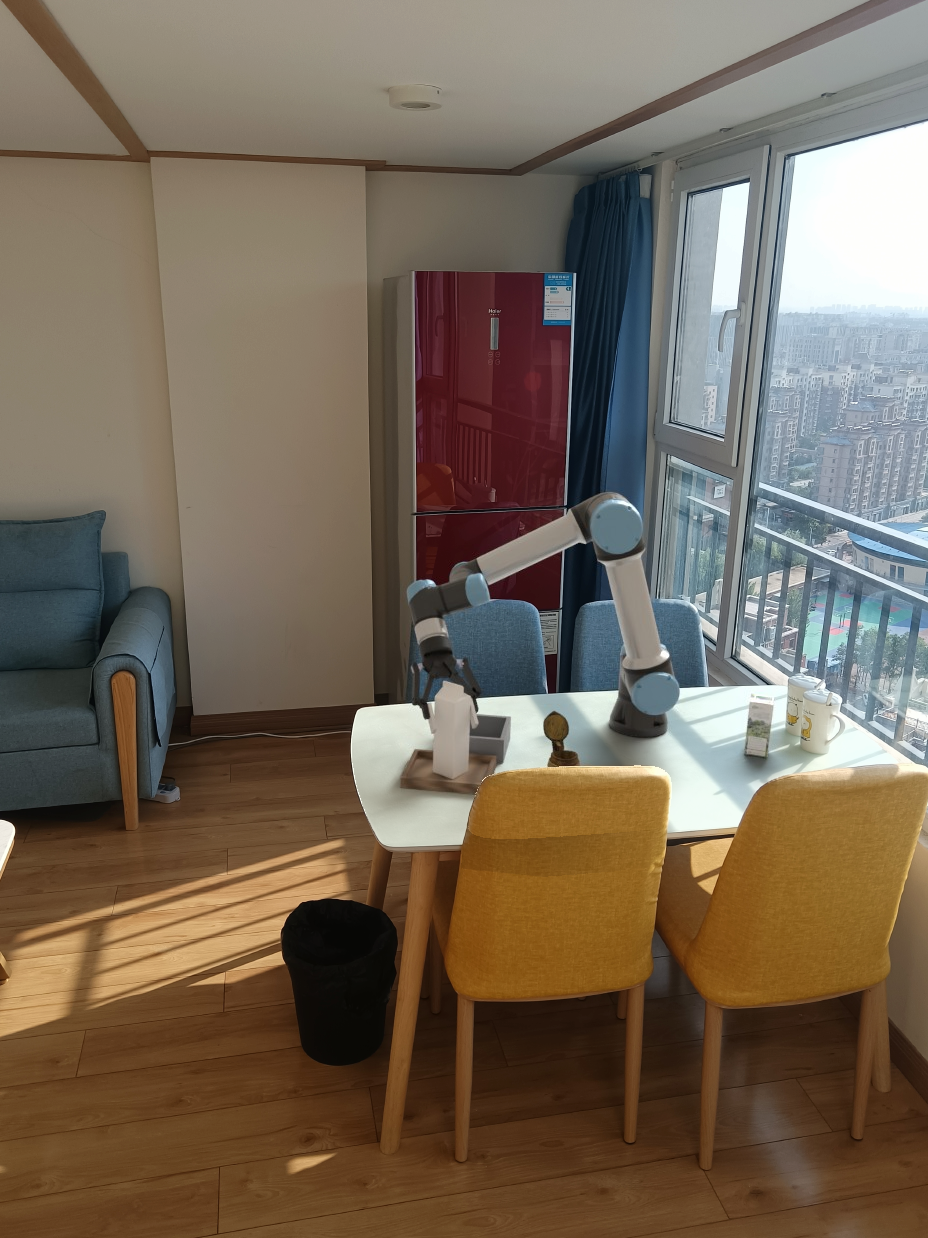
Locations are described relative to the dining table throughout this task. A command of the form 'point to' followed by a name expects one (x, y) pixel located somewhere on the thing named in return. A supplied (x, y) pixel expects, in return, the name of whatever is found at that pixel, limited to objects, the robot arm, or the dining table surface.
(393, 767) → the dining table surface
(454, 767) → the milk
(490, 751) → the box
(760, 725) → the white drink carton
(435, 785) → the tray
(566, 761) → the wooden mug
